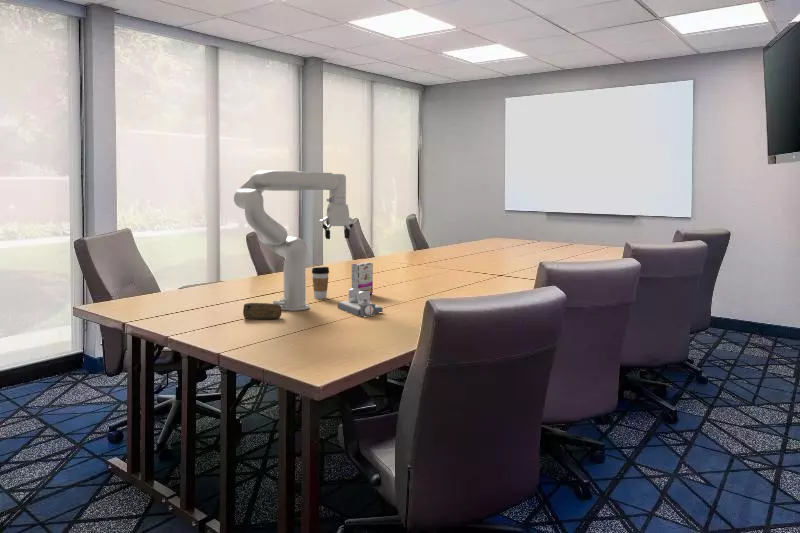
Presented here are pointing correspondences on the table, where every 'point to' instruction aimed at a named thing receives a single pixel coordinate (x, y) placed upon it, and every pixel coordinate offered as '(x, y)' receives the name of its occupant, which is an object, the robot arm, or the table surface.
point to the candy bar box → (363, 276)
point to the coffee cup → (320, 282)
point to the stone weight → (261, 311)
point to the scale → (360, 308)
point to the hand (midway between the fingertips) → (337, 238)
